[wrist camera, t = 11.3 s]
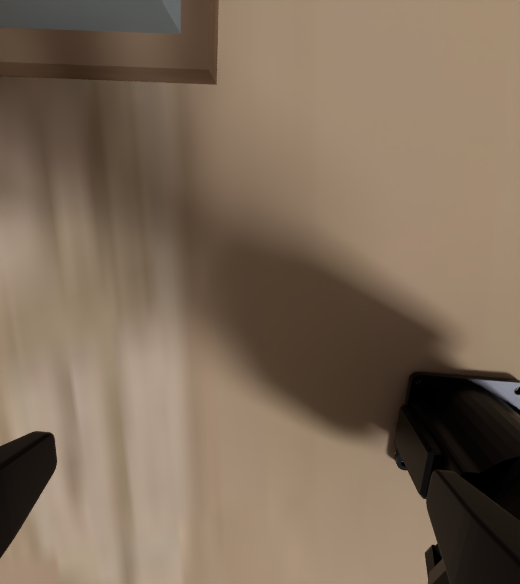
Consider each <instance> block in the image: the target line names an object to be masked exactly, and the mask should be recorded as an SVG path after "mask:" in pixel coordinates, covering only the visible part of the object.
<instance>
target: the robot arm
mask: <svg viewBox="0 0 520 584" xmlns="http://www.w3.org/2000/svg"><path fill="white" fill-rule="evenodd" d="M418 379H422V381H421V382H420V383H416V381H417V380H418ZM517 387H519V388H518V390H517V391H514V390H515V389H516V388H517ZM394 443H395V445H396V447H397V449H396V454H395V461H396V464H397V466H398V467H399V468H400V469H402V470H408V472H409V474H410V476H411V478H412V481H413V483H414V485H415V487H416V489H417V491H418V493H419V494H420V495H421V497H422V498H423V499H426V504H427V510H428V514H429V517H430V520H431V523H432V527H433V530H434V533H435V536H436V540H437V543H438V544H437V545H436V546H435V545H432V546H431V547H430V548H429V549H428V550H427V551H426V552H425V558H426V566H427V574H428V584H520V380H515V379H502V378H490V377H478V376H465V375H453V374H441V373H429V372H415V373H413V374H412V375H411V376H410V378H409V382H408V387H407V393H406V399H405V404H404V405H403V406H402V407H401V408H400V412H399V417H398V423H397V429H396V434H395V440H394ZM402 461H403V462H402ZM56 465H57V456H56V447H55V438H54V435H53V434H52V433H50V432H41V431H35V432H32V433H29V434H27V435H25V436H22V437H20V438H18V439H16V440H13V441H11V442H9V443H7V444H4V445H2V446H0V558H1V557H2V555H3V554H4V552H5V551H6V550H7V548H8V547H9V545H10V544H11V542H12V541H13V539H14V538H15V536H16V535H17V533H18V531H19V530H20V528H21V527H22V525H23V523H24V522H25V520H26V518H27V517H28V515H29V513H30V512H31V510H32V508H33V507H34V505H35V503H36V502H37V500H38V498H39V496H40V495H41V493H42V491H43V490H44V488H45V486H46V485H47V483H48V481H49V480H50V478H51V476H52V475H53V473H54V471H55V469H56Z"/></svg>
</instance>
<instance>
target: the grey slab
mask: <svg viewBox="0 0 520 584" xmlns="http://www.w3.org/2000/svg"><path fill="white" fill-rule="evenodd" d="M0 27H3V28H29V29H55V30H83V31H111V32H138V33H166V34H181V0H0Z"/></svg>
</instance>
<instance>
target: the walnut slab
mask: <svg viewBox="0 0 520 584" xmlns="http://www.w3.org/2000/svg"><path fill="white" fill-rule="evenodd" d="M218 5H219V0H181V34H166V33H138V32H111V31H83V30H55V29H29V28H3V27H0V76H17V77H42V78H67V79H92V80H116V81H141V82H166V83H191V84H216V85H217V46H218Z"/></svg>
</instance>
